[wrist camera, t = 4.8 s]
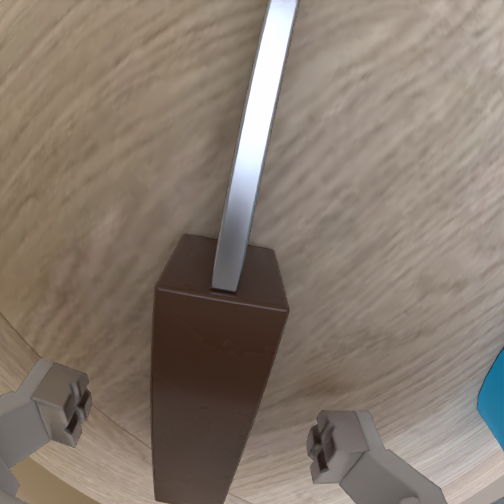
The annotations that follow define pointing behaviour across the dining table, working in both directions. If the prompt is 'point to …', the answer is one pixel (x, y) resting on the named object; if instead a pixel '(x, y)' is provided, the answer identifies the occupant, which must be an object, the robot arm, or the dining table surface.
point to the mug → (494, 399)
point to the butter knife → (220, 310)
